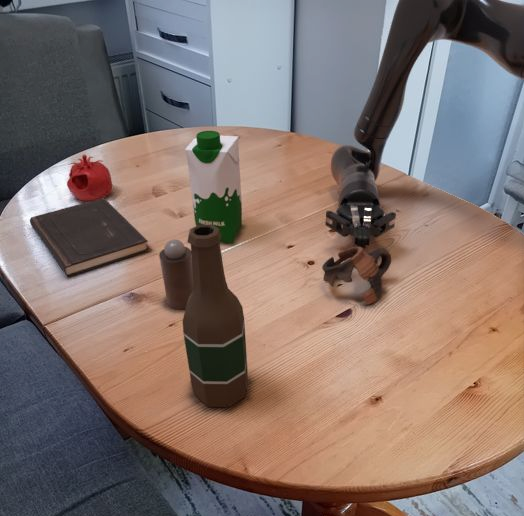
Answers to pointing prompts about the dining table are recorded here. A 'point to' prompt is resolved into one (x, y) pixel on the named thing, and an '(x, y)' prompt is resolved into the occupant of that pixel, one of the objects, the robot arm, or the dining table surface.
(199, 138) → the milk carton
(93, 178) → the pomegranate
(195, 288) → the beer bottle
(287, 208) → the dining table surface
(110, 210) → the hardcover book
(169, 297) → the roll-on deodorant
